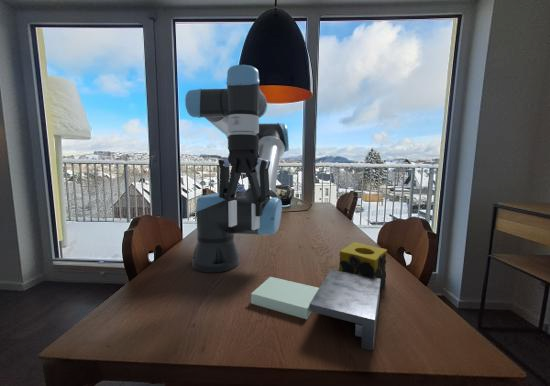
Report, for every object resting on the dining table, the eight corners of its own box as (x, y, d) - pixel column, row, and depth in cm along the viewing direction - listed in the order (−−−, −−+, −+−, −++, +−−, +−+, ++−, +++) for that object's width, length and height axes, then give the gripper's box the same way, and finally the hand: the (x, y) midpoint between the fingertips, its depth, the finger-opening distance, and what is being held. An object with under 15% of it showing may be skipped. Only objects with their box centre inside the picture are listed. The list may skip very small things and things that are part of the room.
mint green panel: (251, 305, 62) (251, 293, 62) (270, 287, 71) (270, 276, 71) (307, 321, 56) (307, 308, 56) (320, 299, 65) (320, 288, 65)
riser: (308, 332, 52) (309, 303, 51) (329, 291, 68) (330, 269, 67) (372, 351, 47) (374, 320, 46) (379, 302, 63) (380, 278, 62)
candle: (351, 273, 79) (353, 241, 78) (386, 283, 73) (388, 248, 72) (336, 285, 72) (338, 250, 70) (373, 297, 65) (376, 259, 64)
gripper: (202, 134, 64) (204, 226, 67) (272, 131, 56) (271, 235, 59) (220, 137, 71) (222, 220, 74) (285, 134, 63) (284, 228, 66)
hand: (244, 227), depth 66 cm, fingers open, 6 cm apart
